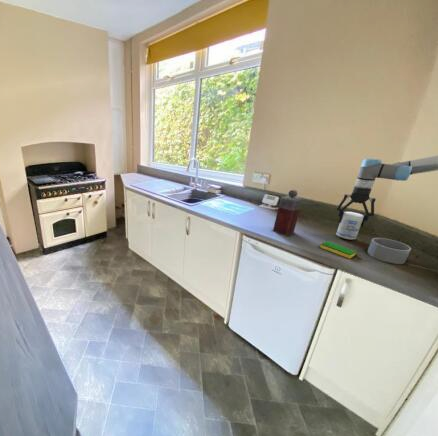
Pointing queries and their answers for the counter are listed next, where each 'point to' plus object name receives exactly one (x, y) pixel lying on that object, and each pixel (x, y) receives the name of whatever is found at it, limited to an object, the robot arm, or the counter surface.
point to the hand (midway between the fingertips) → (350, 223)
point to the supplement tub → (349, 225)
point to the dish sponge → (338, 249)
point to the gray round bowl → (388, 250)
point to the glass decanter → (287, 213)
